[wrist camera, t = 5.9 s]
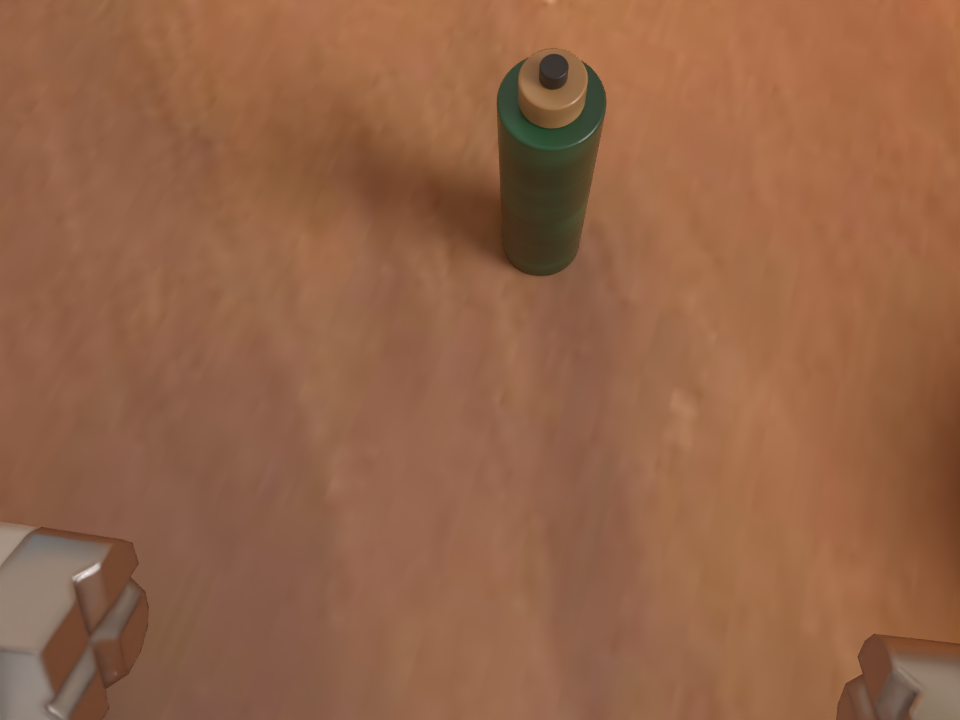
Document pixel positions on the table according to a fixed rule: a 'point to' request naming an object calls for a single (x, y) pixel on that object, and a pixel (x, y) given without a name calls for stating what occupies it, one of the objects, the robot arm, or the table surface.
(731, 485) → the table surface
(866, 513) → the table surface
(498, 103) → the green capped cylinder
